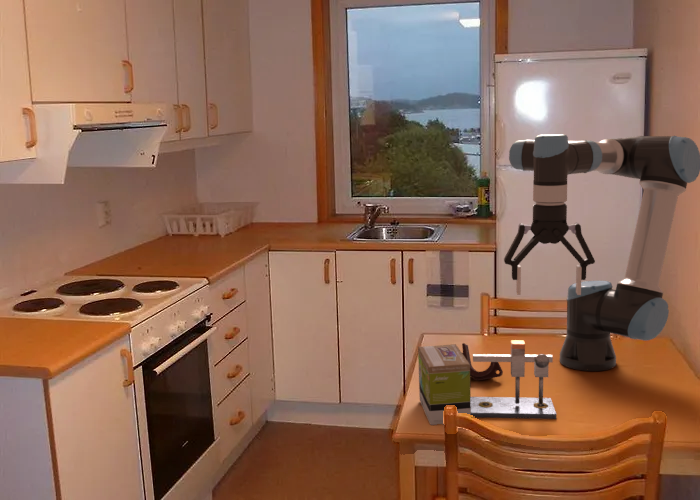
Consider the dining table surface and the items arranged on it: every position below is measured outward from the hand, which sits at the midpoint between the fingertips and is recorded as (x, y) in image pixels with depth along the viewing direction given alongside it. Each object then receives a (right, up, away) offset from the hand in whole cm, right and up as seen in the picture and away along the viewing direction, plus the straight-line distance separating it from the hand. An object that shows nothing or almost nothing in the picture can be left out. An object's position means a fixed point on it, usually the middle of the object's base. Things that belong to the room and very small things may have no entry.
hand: (548, 293), depth 180 cm
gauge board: (-7, -28, +6) cm, 30 cm away
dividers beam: (-7, -27, +6) cm, 28 cm away
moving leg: (-6, -27, +6) cm, 28 cm away
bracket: (-14, -25, +29) cm, 40 cm away
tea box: (-24, -29, +6) cm, 38 cm away
